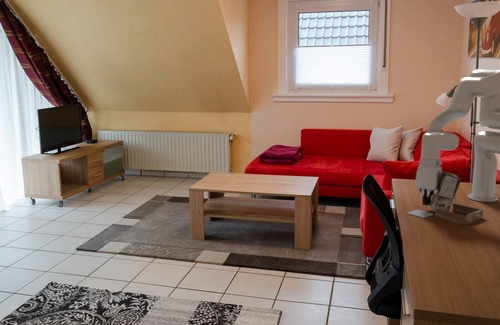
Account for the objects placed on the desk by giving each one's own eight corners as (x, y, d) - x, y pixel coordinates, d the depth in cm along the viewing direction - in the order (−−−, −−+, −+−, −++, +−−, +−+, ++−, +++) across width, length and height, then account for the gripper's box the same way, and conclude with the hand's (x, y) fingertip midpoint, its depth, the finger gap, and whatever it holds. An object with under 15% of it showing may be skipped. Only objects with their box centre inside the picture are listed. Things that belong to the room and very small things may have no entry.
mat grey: (417, 210, 208) (417, 209, 208) (434, 214, 202) (434, 213, 201) (406, 213, 203) (406, 212, 203) (423, 218, 197) (423, 217, 196)
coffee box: (447, 216, 200) (461, 179, 196) (431, 211, 201) (445, 174, 197) (443, 209, 209) (457, 174, 205) (428, 205, 210) (441, 170, 206)
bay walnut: (453, 211, 207) (453, 203, 206) (482, 218, 197) (483, 209, 197) (434, 217, 198) (435, 208, 197) (464, 224, 188) (465, 216, 188)
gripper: (451, 164, 201) (447, 207, 204) (419, 159, 213) (416, 199, 216) (441, 166, 196) (437, 210, 200) (409, 160, 208) (405, 202, 211)
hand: (426, 204), depth 208 cm, fingers closed
